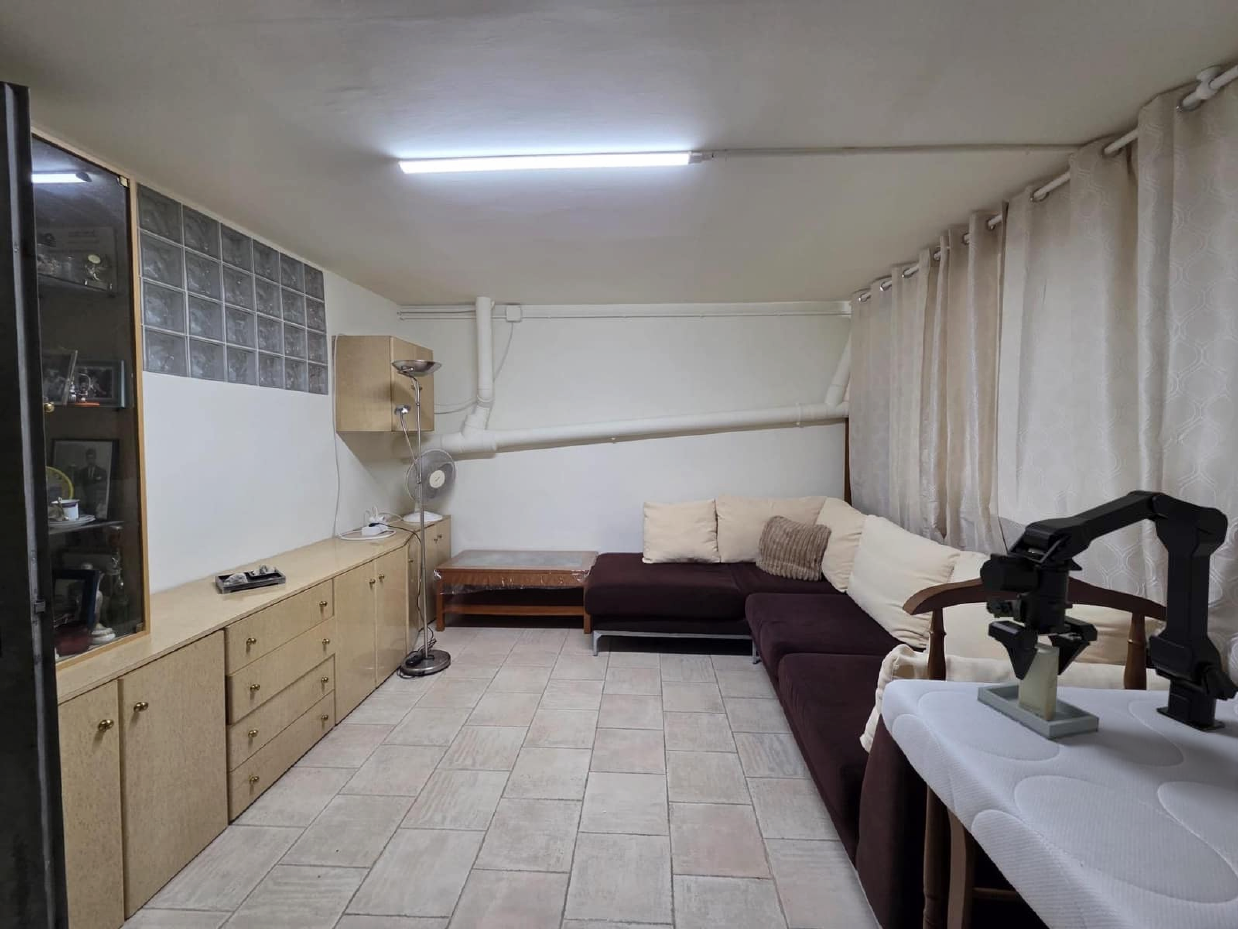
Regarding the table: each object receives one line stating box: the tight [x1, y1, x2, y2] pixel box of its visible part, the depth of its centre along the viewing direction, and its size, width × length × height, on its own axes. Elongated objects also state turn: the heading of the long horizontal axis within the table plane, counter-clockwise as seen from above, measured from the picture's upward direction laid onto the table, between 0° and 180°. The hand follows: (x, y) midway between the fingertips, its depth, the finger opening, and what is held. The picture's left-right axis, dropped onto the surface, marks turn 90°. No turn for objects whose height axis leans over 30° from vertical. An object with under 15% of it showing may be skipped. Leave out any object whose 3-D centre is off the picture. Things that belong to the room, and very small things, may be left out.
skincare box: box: [1018, 641, 1059, 721], centre depth 90 cm, size 6×4×12 cm
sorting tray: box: [976, 682, 1100, 740], centre depth 91 cm, size 12×13×2 cm
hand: (1038, 676), depth 90 cm, fingers open, 9 cm apart
